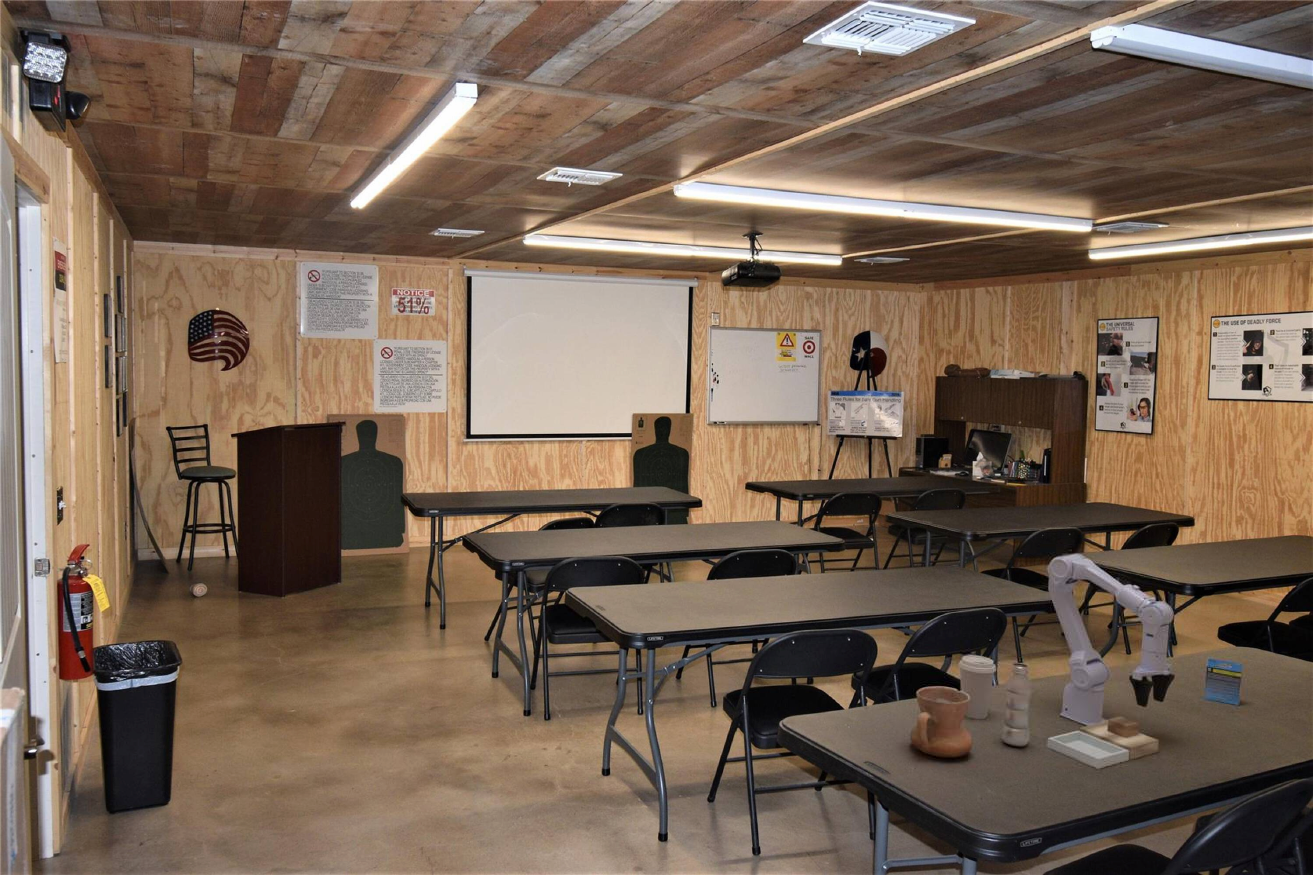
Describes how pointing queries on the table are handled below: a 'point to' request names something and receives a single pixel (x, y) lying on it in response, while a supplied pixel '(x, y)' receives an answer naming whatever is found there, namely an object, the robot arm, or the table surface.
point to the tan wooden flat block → (1123, 740)
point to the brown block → (1123, 727)
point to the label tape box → (1223, 681)
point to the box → (1088, 749)
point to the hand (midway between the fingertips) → (1150, 703)
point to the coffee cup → (977, 683)
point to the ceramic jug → (942, 723)
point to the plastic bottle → (1017, 706)
